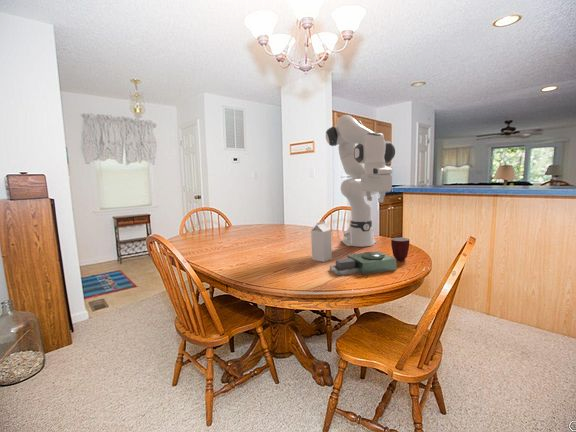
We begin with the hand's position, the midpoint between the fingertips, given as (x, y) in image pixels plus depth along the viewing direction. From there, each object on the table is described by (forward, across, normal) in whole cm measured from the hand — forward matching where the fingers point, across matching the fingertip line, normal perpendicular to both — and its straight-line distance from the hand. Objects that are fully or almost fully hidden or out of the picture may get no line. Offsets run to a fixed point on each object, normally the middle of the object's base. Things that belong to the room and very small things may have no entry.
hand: (375, 201), depth 135 cm
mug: (+29, -1, +14) cm, 32 cm away
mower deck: (+29, +3, -9) cm, 31 cm away
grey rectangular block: (+29, +3, -16) cm, 34 cm away
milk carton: (+29, -18, -19) cm, 39 cm away
